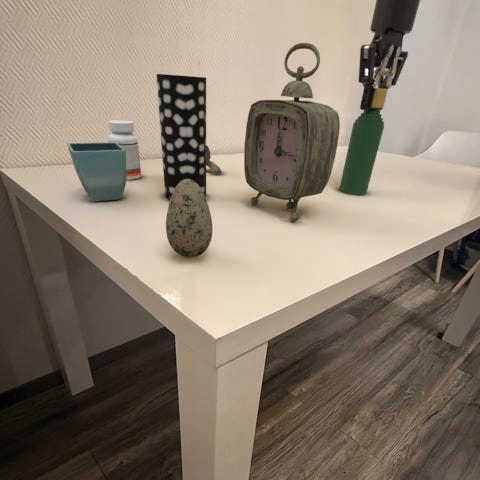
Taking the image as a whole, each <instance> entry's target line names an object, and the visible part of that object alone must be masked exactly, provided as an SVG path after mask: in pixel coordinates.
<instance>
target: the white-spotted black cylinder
mask: <svg viewBox="0 0 480 480" xmlns="http://www.w3.org/2000/svg"><path fill="white" fill-rule="evenodd" d="M156 86H157V101H158V115H159V127H160V128H159V129H160V141H161V143H160V144H161V157H162V171H163V172H162V173H163V185H164V197H165V199H166V200H169V201H170V199H171V196H172V194H173V191H174V189H175V188H176V186H177V185H178V184H179V183H180V182H181V181H182V180H184V179H191V180H193V181H195V182H196V183H197V184H198V185H199V187H200V188H201V190H202V191H203V193H204V195H205V197H206V198H207V166H206V145H207V77H204V76H192V75H191V76H190V75H180V74H178V75H177V74H165V73H156Z"/></svg>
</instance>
